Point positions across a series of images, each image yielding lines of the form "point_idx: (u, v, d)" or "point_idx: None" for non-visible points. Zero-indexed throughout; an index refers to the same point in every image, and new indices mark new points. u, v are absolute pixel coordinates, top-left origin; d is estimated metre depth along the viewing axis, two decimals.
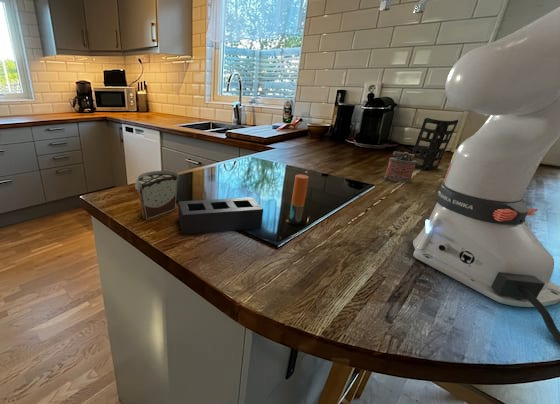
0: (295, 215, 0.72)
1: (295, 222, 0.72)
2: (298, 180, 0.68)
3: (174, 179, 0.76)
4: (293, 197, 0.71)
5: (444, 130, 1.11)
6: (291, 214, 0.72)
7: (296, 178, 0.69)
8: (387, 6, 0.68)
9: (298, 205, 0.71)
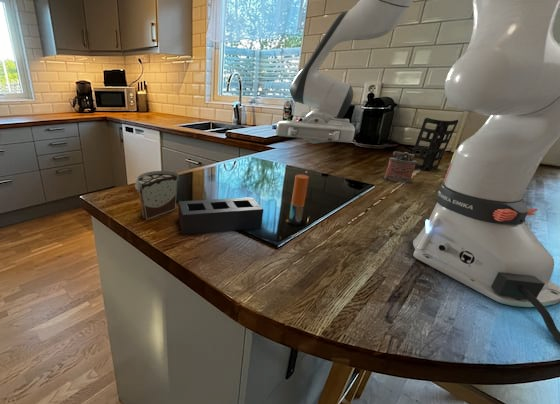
0: (295, 215, 0.72)
1: (295, 222, 0.72)
2: (298, 180, 0.68)
3: (174, 179, 0.76)
4: (293, 197, 0.71)
5: (444, 130, 1.11)
6: (291, 214, 0.72)
7: (296, 178, 0.69)
8: (294, 130, 0.78)
9: (298, 205, 0.71)
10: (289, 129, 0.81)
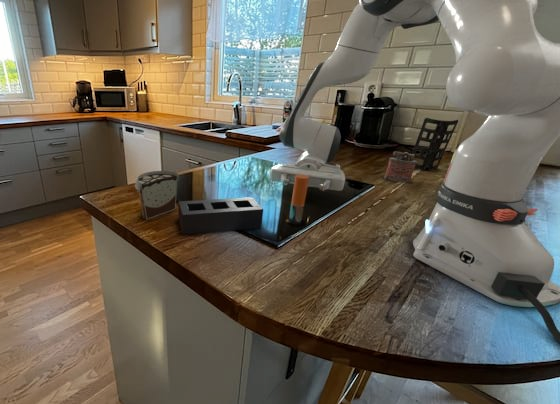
0: (295, 215, 0.72)
1: (295, 222, 0.72)
2: (298, 180, 0.68)
3: (174, 179, 0.76)
4: (293, 197, 0.71)
5: (444, 130, 1.11)
6: (291, 214, 0.72)
7: (296, 178, 0.69)
8: (286, 179, 0.81)
9: (298, 205, 0.71)
10: (282, 176, 0.84)
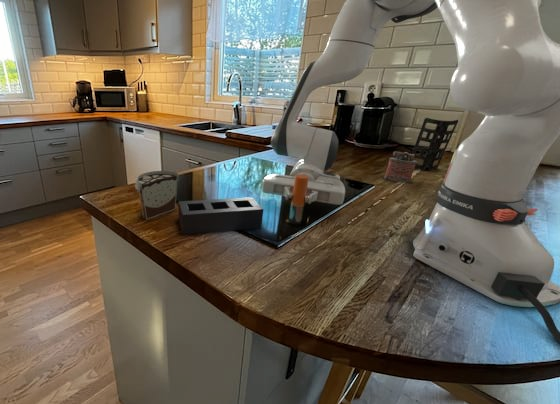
0: (295, 215, 0.72)
1: (295, 222, 0.72)
2: (298, 180, 0.68)
3: (174, 179, 0.76)
4: (293, 197, 0.71)
5: (444, 130, 1.11)
6: (291, 214, 0.72)
7: (296, 178, 0.69)
8: (290, 193, 0.72)
9: (298, 205, 0.71)
10: (285, 190, 0.74)
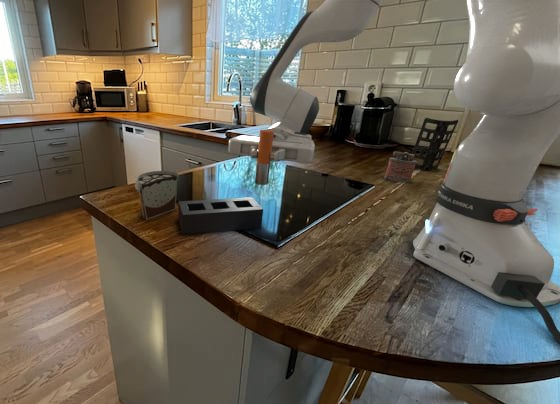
0: (260, 174, 0.67)
1: (261, 182, 0.68)
2: (263, 134, 0.64)
3: (174, 179, 0.76)
4: (258, 154, 0.66)
5: (444, 130, 1.11)
6: (257, 173, 0.68)
7: (260, 132, 0.64)
8: (255, 150, 0.67)
9: (263, 163, 0.66)
10: (251, 148, 0.69)
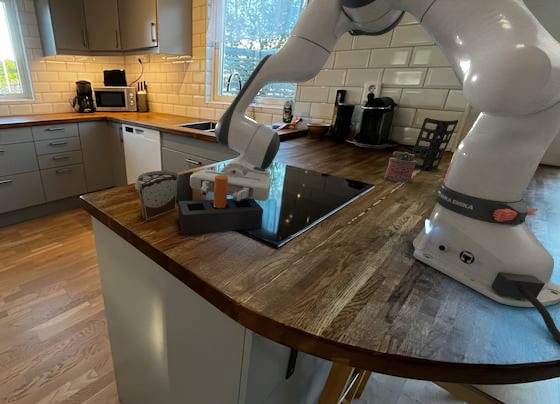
0: None
1: None
2: (217, 181, 0.67)
3: (174, 179, 0.76)
4: (214, 198, 0.69)
5: (444, 130, 1.11)
6: None
7: (215, 179, 0.67)
8: (205, 188, 0.70)
9: (219, 207, 0.69)
10: (202, 185, 0.72)
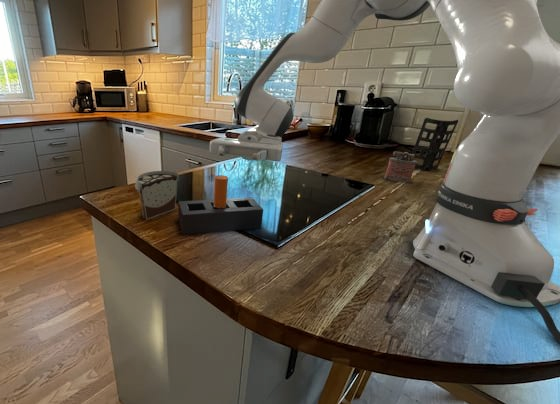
0: None
1: None
2: (217, 181, 0.67)
3: (174, 179, 0.76)
4: (214, 198, 0.69)
5: (444, 130, 1.11)
6: None
7: (215, 179, 0.67)
8: (221, 149, 0.78)
9: (219, 207, 0.69)
10: (219, 148, 0.81)
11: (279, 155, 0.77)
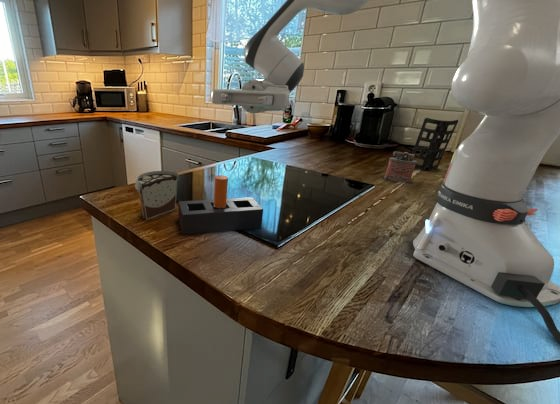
0: None
1: None
2: (217, 181, 0.67)
3: (174, 179, 0.76)
4: (214, 198, 0.69)
5: (444, 130, 1.11)
6: None
7: (215, 179, 0.67)
8: (224, 95, 0.73)
9: (219, 207, 0.69)
10: (221, 95, 0.76)
11: (286, 100, 0.72)
